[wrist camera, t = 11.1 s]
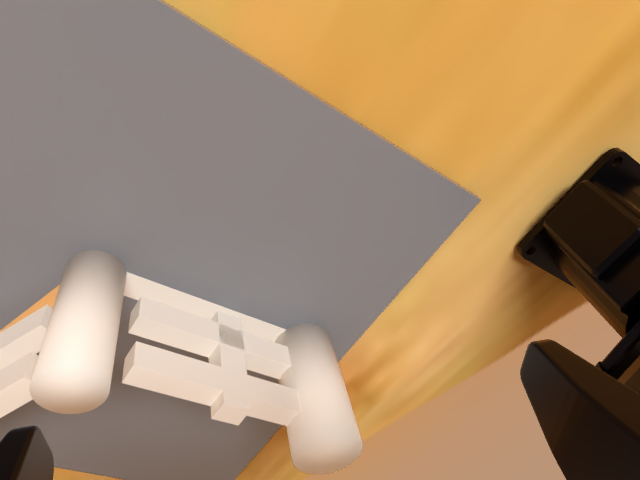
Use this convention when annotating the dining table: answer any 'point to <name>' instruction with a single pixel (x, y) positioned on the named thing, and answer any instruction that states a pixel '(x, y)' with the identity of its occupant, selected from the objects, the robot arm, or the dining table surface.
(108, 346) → the fence fixed
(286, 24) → the dining table surface
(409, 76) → the dining table surface
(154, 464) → the card
